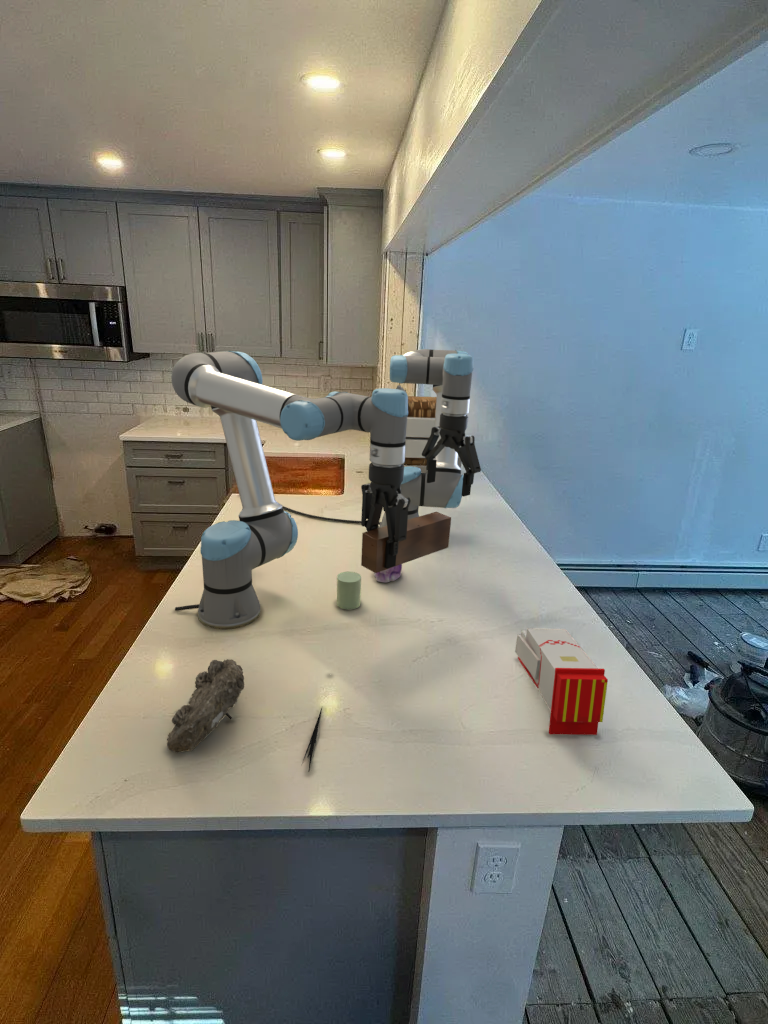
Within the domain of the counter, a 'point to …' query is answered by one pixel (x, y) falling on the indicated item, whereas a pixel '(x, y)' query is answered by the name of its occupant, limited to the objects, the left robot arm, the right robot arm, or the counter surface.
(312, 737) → the feather
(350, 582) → the pale green cylinder
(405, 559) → the walnut box
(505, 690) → the counter surface
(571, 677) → the toy
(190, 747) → the fossil
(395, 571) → the figurine
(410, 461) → the transformer
